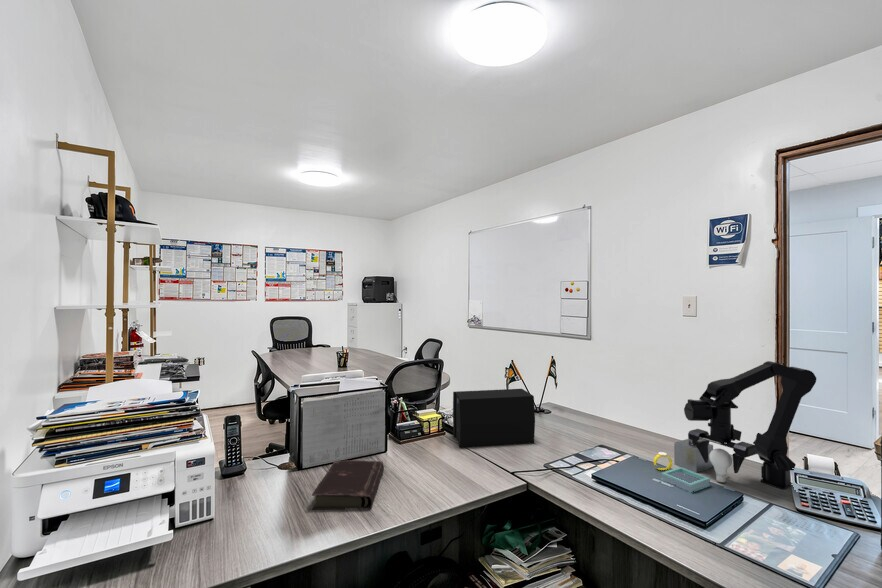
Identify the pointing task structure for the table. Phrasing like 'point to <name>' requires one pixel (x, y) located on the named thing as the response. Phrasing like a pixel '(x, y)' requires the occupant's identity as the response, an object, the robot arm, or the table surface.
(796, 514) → the table surface
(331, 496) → the diary
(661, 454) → the watch
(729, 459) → the lightbulb
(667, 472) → the tray
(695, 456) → the unit
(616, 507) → the table surface
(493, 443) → the uninterruptible power supply
